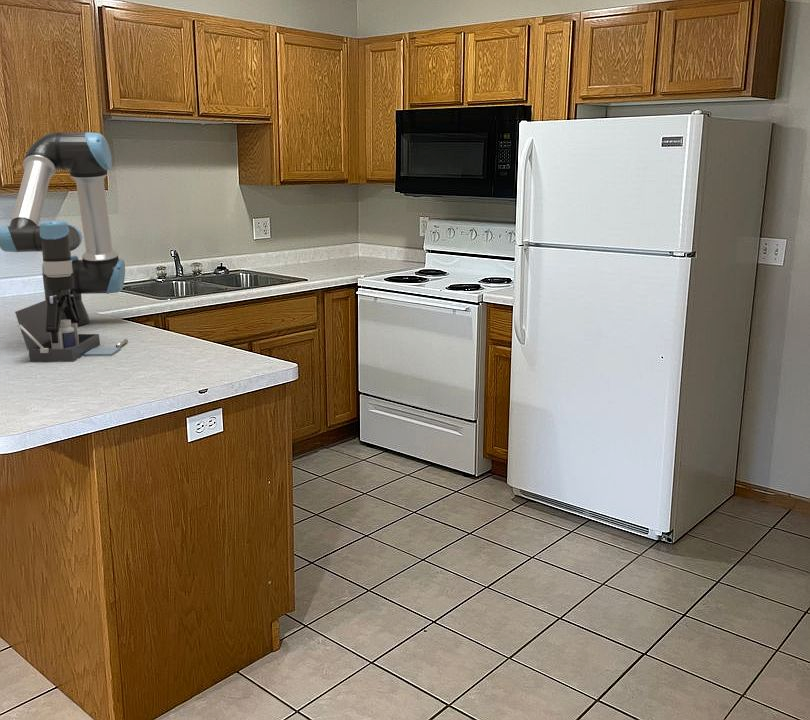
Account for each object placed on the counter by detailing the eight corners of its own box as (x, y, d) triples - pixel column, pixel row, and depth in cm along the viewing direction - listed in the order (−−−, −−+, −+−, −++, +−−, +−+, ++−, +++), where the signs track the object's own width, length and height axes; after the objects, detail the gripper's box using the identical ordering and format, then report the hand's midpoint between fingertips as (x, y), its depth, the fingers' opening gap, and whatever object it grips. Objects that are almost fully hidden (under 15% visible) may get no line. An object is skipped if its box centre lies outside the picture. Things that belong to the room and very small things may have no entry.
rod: (124, 342, 253) (124, 339, 253) (128, 342, 253) (127, 339, 253) (115, 348, 245) (115, 344, 245) (119, 348, 245) (119, 344, 245)
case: (52, 345, 250) (47, 299, 246) (100, 345, 250) (95, 298, 246) (19, 362, 228) (13, 311, 224) (71, 362, 228) (66, 311, 225)
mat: (93, 350, 243) (93, 348, 243) (120, 349, 243) (120, 347, 243) (83, 356, 235) (83, 354, 235) (111, 355, 235) (111, 353, 235)
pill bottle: (79, 351, 242) (76, 318, 240) (72, 355, 237) (69, 322, 234) (60, 351, 242) (57, 318, 239) (53, 355, 236) (50, 322, 234)
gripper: (62, 270, 246) (69, 340, 250) (27, 280, 222) (35, 358, 227) (87, 270, 246) (93, 340, 251) (55, 280, 222) (62, 358, 227)
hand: (66, 349), depth 239 cm, fingers open, 12 cm apart
